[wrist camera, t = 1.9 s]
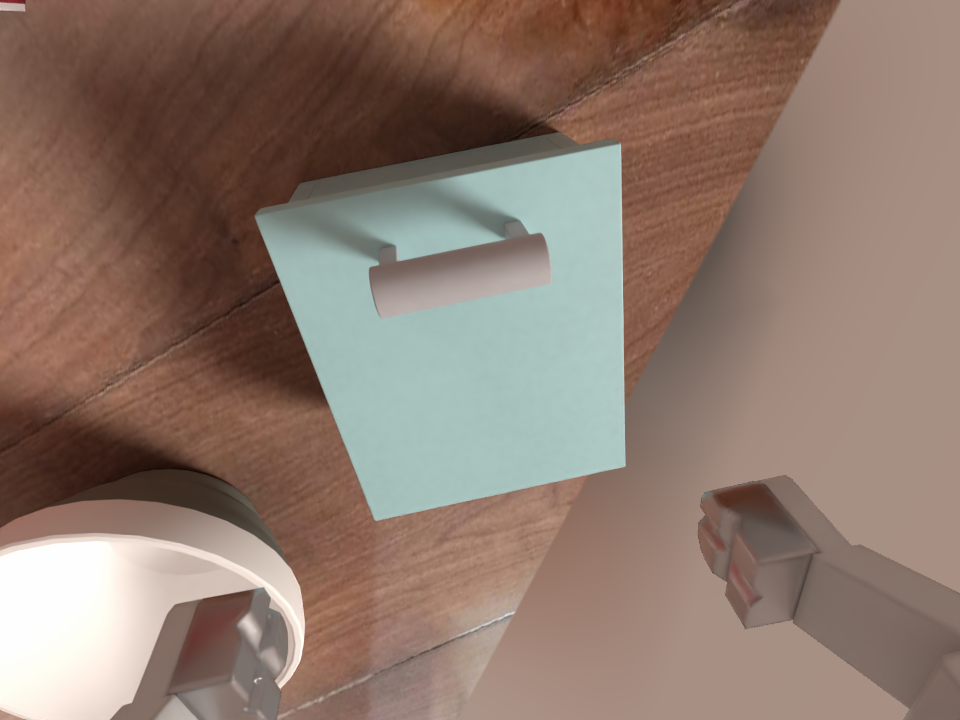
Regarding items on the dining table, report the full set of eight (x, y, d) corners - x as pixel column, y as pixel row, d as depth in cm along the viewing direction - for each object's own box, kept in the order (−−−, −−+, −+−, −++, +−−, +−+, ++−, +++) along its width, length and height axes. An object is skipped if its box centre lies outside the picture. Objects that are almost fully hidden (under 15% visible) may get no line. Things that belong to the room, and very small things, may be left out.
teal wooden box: (298, 182, 28) (269, 232, 21) (560, 131, 28) (612, 164, 22) (378, 418, 37) (374, 507, 30) (577, 376, 37) (618, 454, 30)
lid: (259, 208, 21) (221, 258, 16) (612, 138, 21) (671, 168, 17) (375, 507, 30) (371, 592, 25) (619, 454, 30) (658, 528, 26)
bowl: (264, 625, 46) (238, 750, 38) (-1, 571, 39) (-103, 711, 31) (364, 473, 39) (357, 589, 31) (59, 370, 32) (-55, 487, 23)
